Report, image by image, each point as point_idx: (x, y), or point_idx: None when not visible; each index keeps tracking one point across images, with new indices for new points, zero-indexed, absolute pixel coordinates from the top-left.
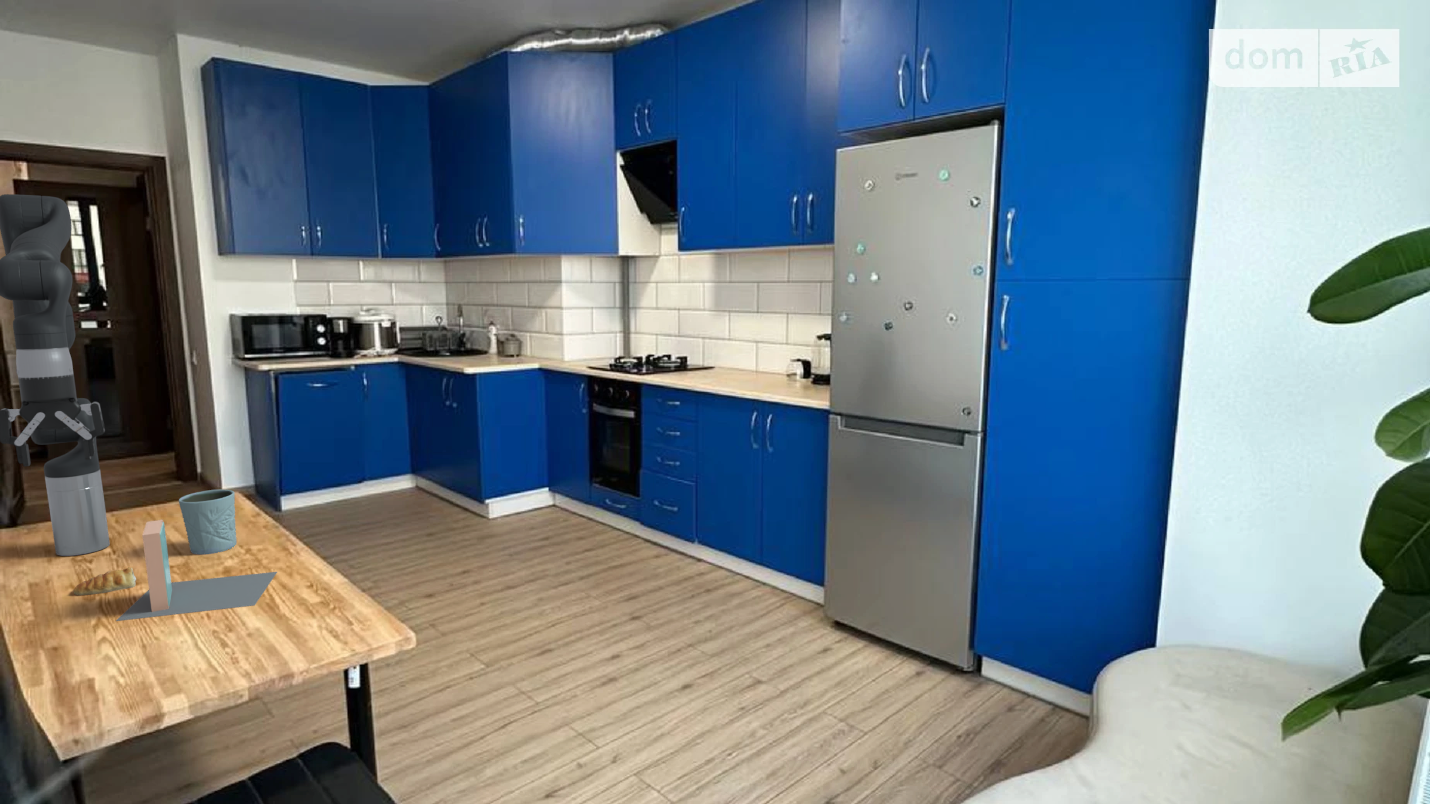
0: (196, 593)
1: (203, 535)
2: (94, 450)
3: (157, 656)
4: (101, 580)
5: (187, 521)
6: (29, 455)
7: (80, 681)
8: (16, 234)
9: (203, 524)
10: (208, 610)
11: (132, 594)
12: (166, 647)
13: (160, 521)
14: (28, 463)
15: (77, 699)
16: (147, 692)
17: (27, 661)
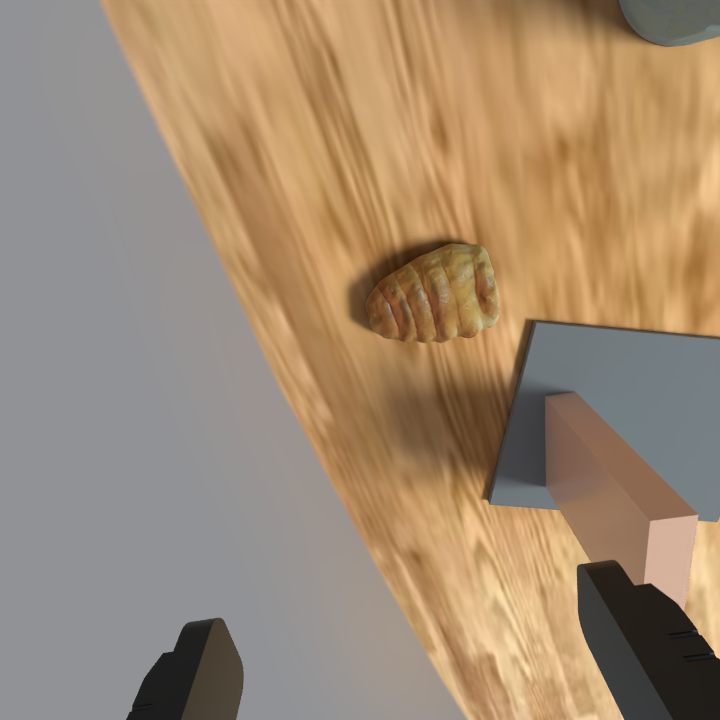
0: (624, 421)
1: (708, 30)
2: (687, 633)
3: (563, 627)
4: (433, 333)
5: None
6: (194, 685)
7: (478, 658)
8: None
9: None
10: None
11: (491, 349)
12: (573, 606)
13: (690, 533)
14: (240, 692)
15: (486, 693)
16: (558, 702)
17: (391, 585)
